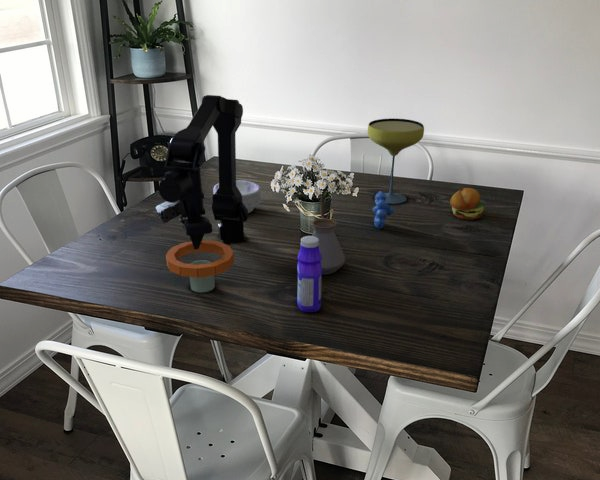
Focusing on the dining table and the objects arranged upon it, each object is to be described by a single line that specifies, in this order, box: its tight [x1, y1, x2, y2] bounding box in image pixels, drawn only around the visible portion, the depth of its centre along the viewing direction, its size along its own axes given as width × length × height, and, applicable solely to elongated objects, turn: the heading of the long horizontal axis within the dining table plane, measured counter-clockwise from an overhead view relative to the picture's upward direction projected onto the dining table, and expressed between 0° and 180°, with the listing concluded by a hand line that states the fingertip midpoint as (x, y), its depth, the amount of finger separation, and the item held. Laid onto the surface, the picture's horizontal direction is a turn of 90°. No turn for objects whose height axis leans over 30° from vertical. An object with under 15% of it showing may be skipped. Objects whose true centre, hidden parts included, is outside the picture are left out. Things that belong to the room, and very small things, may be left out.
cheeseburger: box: [448, 187, 485, 221], centre depth 197 cm, size 10×11×10 cm
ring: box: [165, 239, 235, 278], centre depth 153 cm, size 16×16×2 cm
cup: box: [189, 259, 216, 293], centre depth 155 cm, size 6×6×6 cm
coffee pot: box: [311, 194, 346, 275], centre depth 167 cm, size 21×12×15 cm, turn 0°
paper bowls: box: [212, 179, 262, 214], centre depth 201 cm, size 15×15×8 cm
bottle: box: [296, 235, 323, 313], centre depth 144 cm, size 7×6×17 cm
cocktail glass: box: [367, 118, 425, 205], centre depth 206 cm, size 18×18×25 cm
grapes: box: [371, 190, 395, 230], centre depth 187 cm, size 12×7×12 cm, turn 176°
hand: (195, 247), depth 159 cm, fingers closed on ring, 2 cm apart
